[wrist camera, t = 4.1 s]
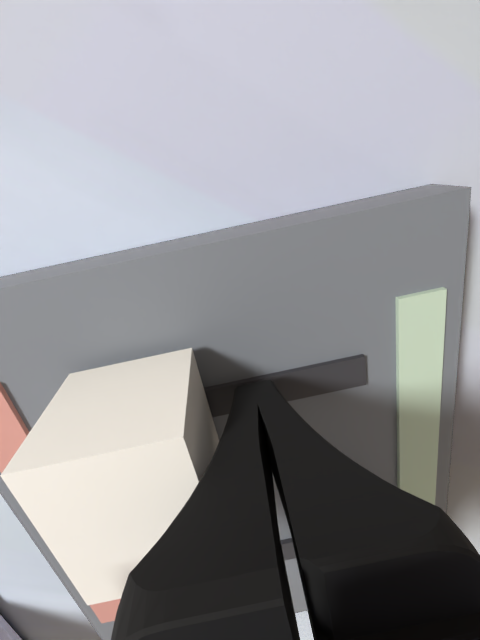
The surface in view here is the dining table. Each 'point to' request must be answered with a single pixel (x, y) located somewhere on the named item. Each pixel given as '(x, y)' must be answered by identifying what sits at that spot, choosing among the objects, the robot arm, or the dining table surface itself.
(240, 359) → the switch panel
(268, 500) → the robot arm
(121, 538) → the switch
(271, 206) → the dining table surface
